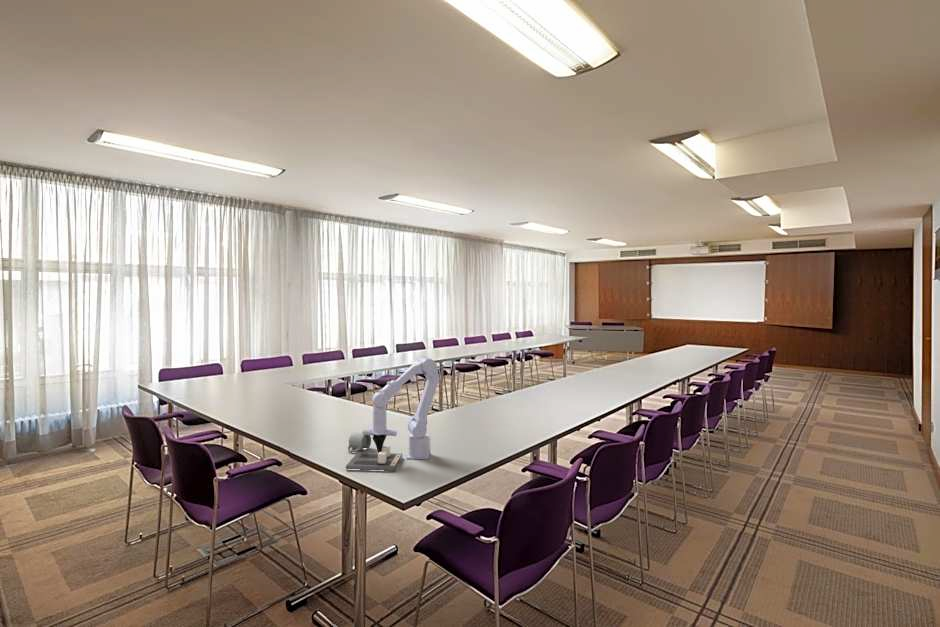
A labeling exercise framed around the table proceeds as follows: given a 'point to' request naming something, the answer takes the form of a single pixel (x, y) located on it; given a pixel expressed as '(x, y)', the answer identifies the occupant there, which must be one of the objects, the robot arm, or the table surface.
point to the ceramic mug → (359, 442)
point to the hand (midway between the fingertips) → (379, 451)
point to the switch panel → (374, 462)
